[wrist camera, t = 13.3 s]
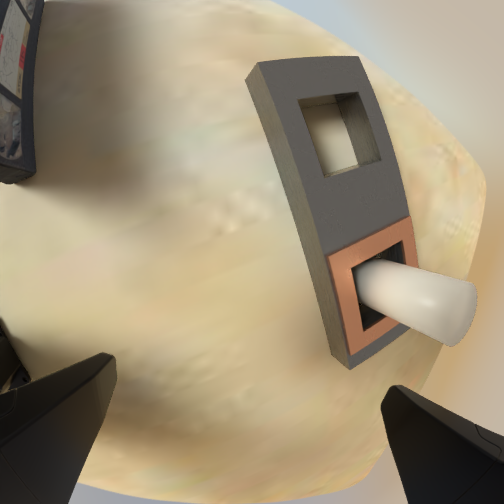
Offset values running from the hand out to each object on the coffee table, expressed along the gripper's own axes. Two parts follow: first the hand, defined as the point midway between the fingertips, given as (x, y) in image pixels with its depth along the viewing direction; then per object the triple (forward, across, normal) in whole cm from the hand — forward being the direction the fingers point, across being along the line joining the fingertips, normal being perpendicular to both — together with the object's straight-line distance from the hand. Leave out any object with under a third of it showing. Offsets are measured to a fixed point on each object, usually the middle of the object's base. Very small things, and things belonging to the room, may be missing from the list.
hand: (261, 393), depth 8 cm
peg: (+15, -10, 0) cm, 18 cm away
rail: (+15, -7, -6) cm, 18 cm away
